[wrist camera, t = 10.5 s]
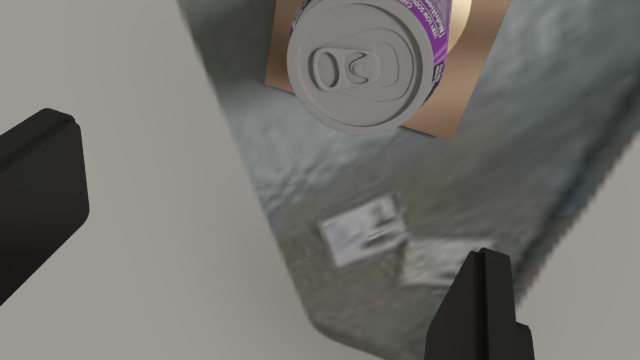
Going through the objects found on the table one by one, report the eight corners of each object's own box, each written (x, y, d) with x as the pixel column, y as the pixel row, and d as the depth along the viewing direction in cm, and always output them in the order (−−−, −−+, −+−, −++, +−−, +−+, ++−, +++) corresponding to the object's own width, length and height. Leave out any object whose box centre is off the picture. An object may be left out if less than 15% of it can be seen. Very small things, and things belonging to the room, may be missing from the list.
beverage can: (342, 58, 33) (290, 144, 23) (329, -58, 29) (261, -13, 20) (452, 53, 31) (445, 145, 21) (453, -72, 27) (446, -31, 18)
